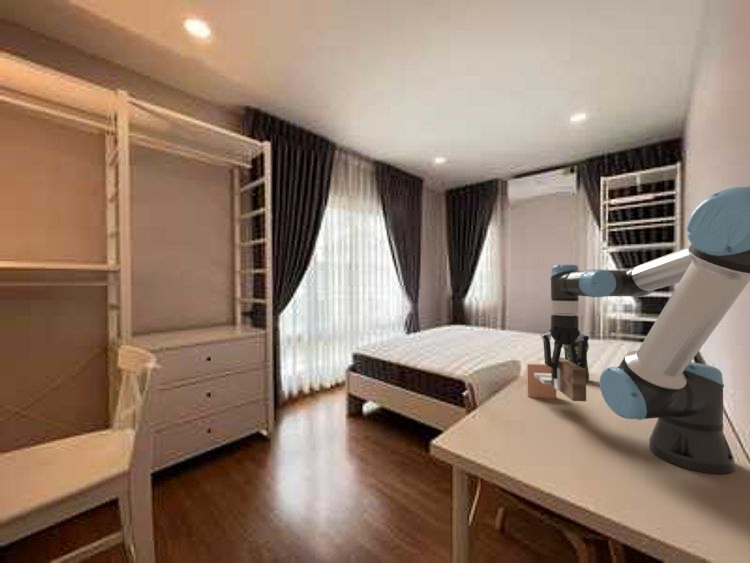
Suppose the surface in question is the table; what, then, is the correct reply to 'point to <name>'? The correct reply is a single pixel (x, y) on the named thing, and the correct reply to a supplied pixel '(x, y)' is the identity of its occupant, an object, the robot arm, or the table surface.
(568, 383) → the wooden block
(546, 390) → the tile
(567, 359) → the coffee jar
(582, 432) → the table surface
